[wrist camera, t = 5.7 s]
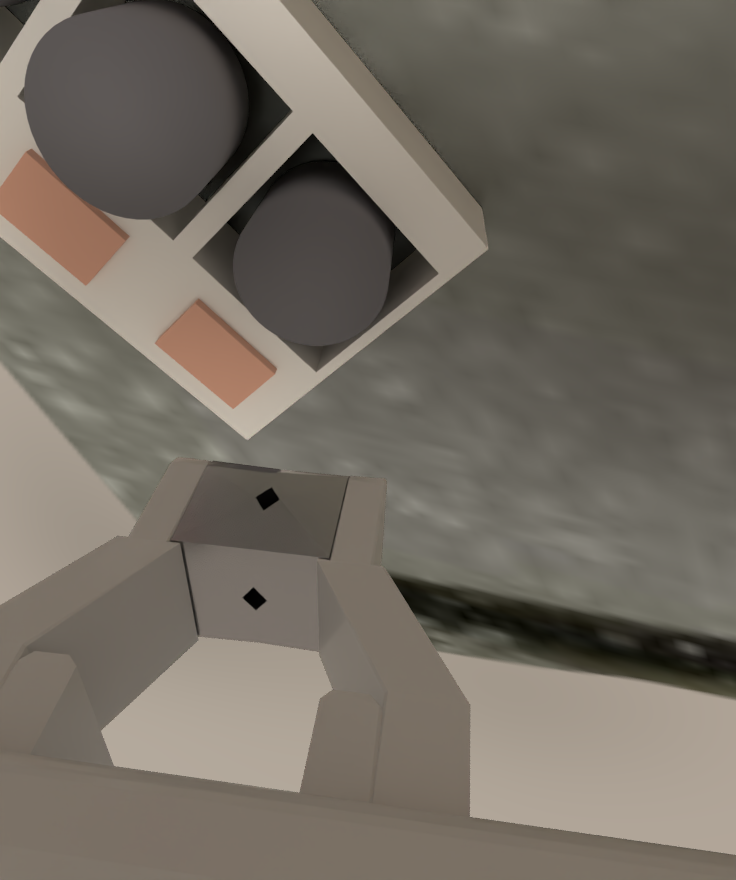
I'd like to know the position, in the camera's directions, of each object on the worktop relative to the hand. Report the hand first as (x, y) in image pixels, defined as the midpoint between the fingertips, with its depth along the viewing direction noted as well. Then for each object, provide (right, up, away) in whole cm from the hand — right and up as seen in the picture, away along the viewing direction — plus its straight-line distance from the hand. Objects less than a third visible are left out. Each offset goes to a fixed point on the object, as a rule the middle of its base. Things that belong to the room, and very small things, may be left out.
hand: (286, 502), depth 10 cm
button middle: (-3, +9, +6) cm, 11 cm away
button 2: (0, +7, +9) cm, 11 cm away
